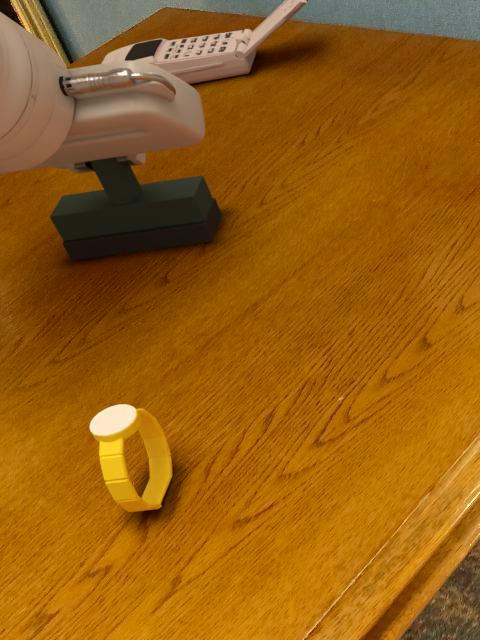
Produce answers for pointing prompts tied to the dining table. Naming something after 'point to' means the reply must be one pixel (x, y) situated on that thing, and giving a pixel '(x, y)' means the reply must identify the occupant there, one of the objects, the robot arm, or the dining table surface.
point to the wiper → (134, 214)
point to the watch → (111, 434)
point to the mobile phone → (208, 49)
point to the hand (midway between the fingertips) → (111, 158)
